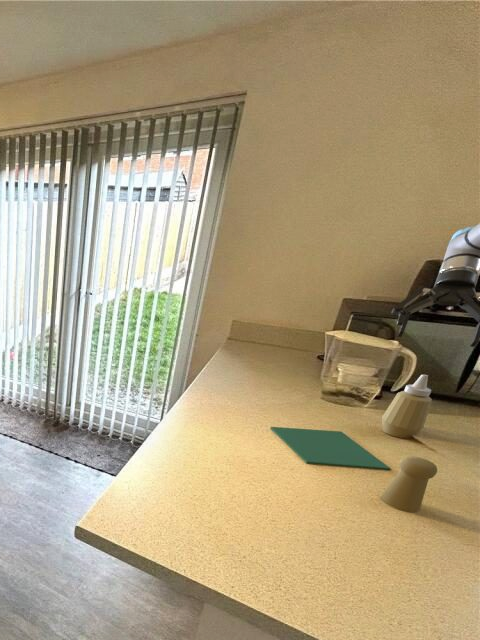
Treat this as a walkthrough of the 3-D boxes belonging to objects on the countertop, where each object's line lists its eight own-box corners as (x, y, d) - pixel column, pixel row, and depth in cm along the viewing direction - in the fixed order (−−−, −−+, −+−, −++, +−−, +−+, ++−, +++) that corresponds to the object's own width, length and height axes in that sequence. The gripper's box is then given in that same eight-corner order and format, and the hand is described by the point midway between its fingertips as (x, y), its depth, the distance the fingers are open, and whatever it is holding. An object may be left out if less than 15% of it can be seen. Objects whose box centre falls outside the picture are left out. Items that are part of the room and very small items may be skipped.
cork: (372, 494, 88) (392, 453, 83) (397, 492, 88) (418, 451, 84) (401, 513, 82) (424, 470, 78) (428, 511, 82) (452, 468, 78)
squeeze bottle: (412, 431, 112) (441, 373, 105) (421, 444, 106) (453, 383, 98) (373, 424, 116) (399, 367, 109) (380, 436, 110) (407, 377, 103)
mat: (390, 470, 96) (391, 468, 95) (306, 463, 99) (307, 461, 98) (340, 433, 112) (341, 431, 111) (270, 428, 115) (270, 426, 115)
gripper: (522, 289, 106) (501, 355, 102) (391, 280, 122) (370, 337, 118) (537, 271, 100) (516, 340, 96) (398, 265, 117) (376, 323, 113)
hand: (435, 339), depth 107 cm, fingers open, 13 cm apart
